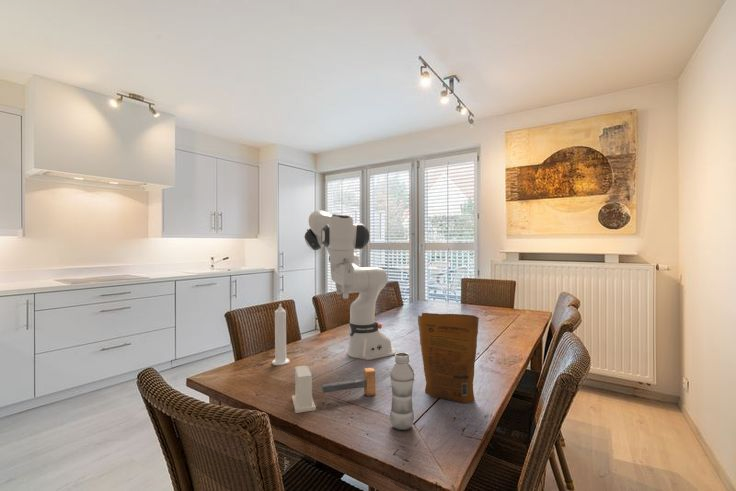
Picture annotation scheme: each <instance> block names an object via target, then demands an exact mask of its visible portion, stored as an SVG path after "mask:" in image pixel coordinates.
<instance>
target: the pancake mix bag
mask: <svg viewBox="0 0 736 491" xmlns="http://www.w3.org/2000/svg"><path fill="white" fill-rule="evenodd" d="M479 320H480V317H478V316H476V315H474V314H473V315H472V314H465V313H464V314H461V313H433V312H421V315H418V317H417V326H418V331H419V345H420V350H421V357H422V365H423V372H424V378H425V379H424V380H425V383H426V384H425V387H424V388H425V389H424V392H425V393H426V394H427V395H428V396H430V397H432V398H436V399H440V400H447V401H452V402H456V403H461V404H469V403H474V402H476V400H475V399H476V398H475V394H474V378H475V364H476V363H475V361H476V357H477V348H478V334H479Z"/></svg>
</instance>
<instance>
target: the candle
mask: <svg viewBox="0 0 736 491" xmlns="http://www.w3.org/2000/svg"><path fill="white" fill-rule="evenodd" d="M274 353H275V354H274V355H275V356H274V357H275V358H274V359H273V360H272V361H271V363H272V365H273V366H284V365H285V366H286V365H288V364H289V363H290V359H289V358H288V357H287V312H286V310H285V309H284V308H283V307H282V303H279V305H278V308H277V309H276V310H275V311H274Z"/></svg>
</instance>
